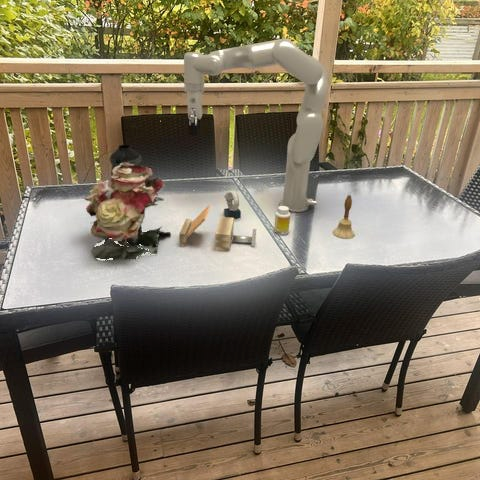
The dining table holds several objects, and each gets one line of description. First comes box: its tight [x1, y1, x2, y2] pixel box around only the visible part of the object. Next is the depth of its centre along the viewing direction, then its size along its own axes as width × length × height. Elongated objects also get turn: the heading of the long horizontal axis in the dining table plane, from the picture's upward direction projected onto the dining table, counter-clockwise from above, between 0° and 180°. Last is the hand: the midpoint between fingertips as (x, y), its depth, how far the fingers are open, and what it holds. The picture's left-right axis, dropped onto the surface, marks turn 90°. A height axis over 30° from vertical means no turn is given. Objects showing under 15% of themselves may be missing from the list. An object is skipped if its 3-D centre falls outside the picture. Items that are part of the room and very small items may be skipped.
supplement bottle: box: [273, 205, 291, 236], centre depth 171 cm, size 6×6×10 cm
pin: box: [231, 228, 257, 248], centre depth 164 cm, size 8×4×5 cm, turn 85°
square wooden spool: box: [179, 216, 235, 252], centre depth 164 cm, size 18×14×6 cm
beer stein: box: [108, 144, 142, 190], centre depth 183 cm, size 16×19×25 cm
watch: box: [223, 190, 242, 220], centre depth 181 cm, size 6×8×11 cm
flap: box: [186, 205, 211, 239], centre depth 162 cm, size 10×11×1 cm
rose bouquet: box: [83, 162, 172, 262], centre depth 152 cm, size 26×29×30 cm
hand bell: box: [332, 194, 355, 240], centre depth 171 cm, size 8×8×16 cm
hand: (194, 131), depth 181 cm, fingers open, 9 cm apart
